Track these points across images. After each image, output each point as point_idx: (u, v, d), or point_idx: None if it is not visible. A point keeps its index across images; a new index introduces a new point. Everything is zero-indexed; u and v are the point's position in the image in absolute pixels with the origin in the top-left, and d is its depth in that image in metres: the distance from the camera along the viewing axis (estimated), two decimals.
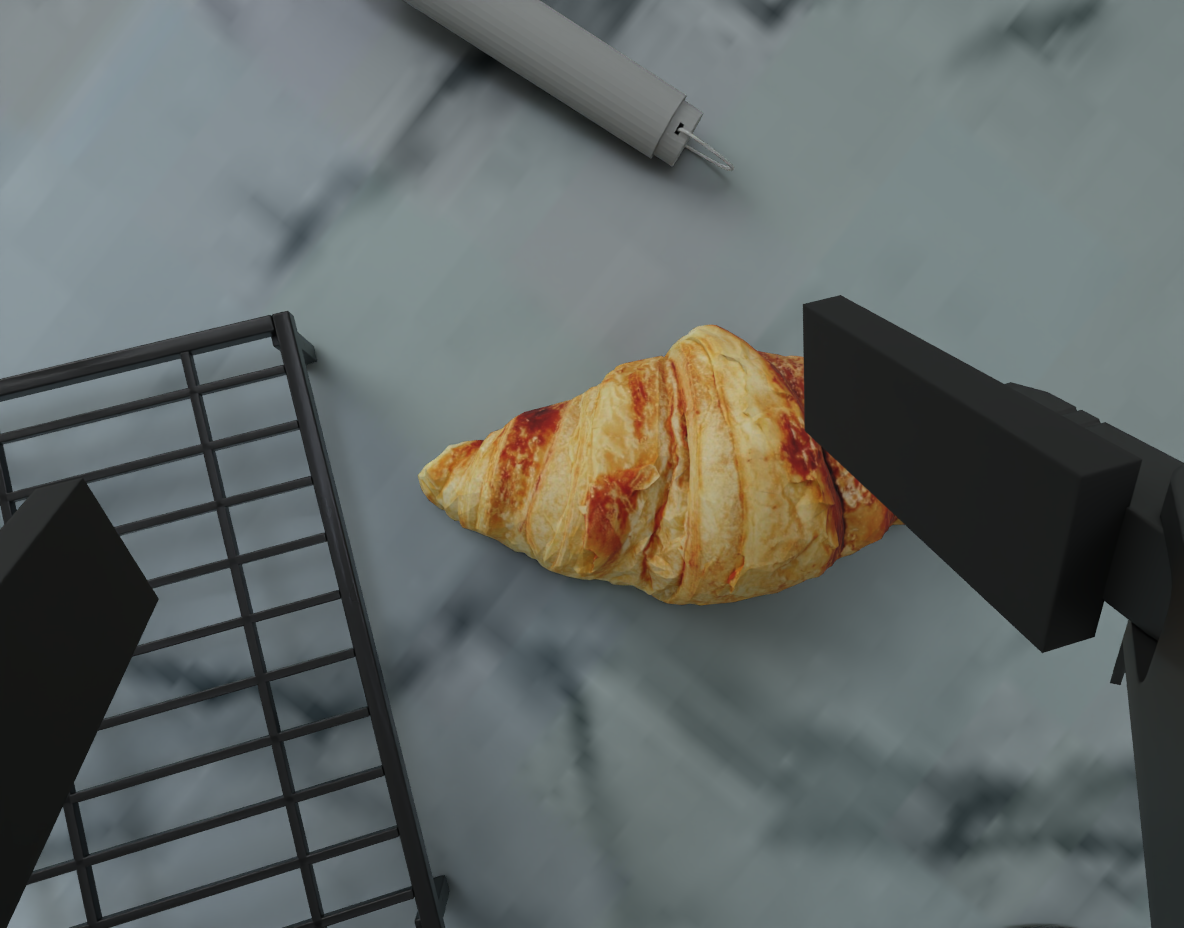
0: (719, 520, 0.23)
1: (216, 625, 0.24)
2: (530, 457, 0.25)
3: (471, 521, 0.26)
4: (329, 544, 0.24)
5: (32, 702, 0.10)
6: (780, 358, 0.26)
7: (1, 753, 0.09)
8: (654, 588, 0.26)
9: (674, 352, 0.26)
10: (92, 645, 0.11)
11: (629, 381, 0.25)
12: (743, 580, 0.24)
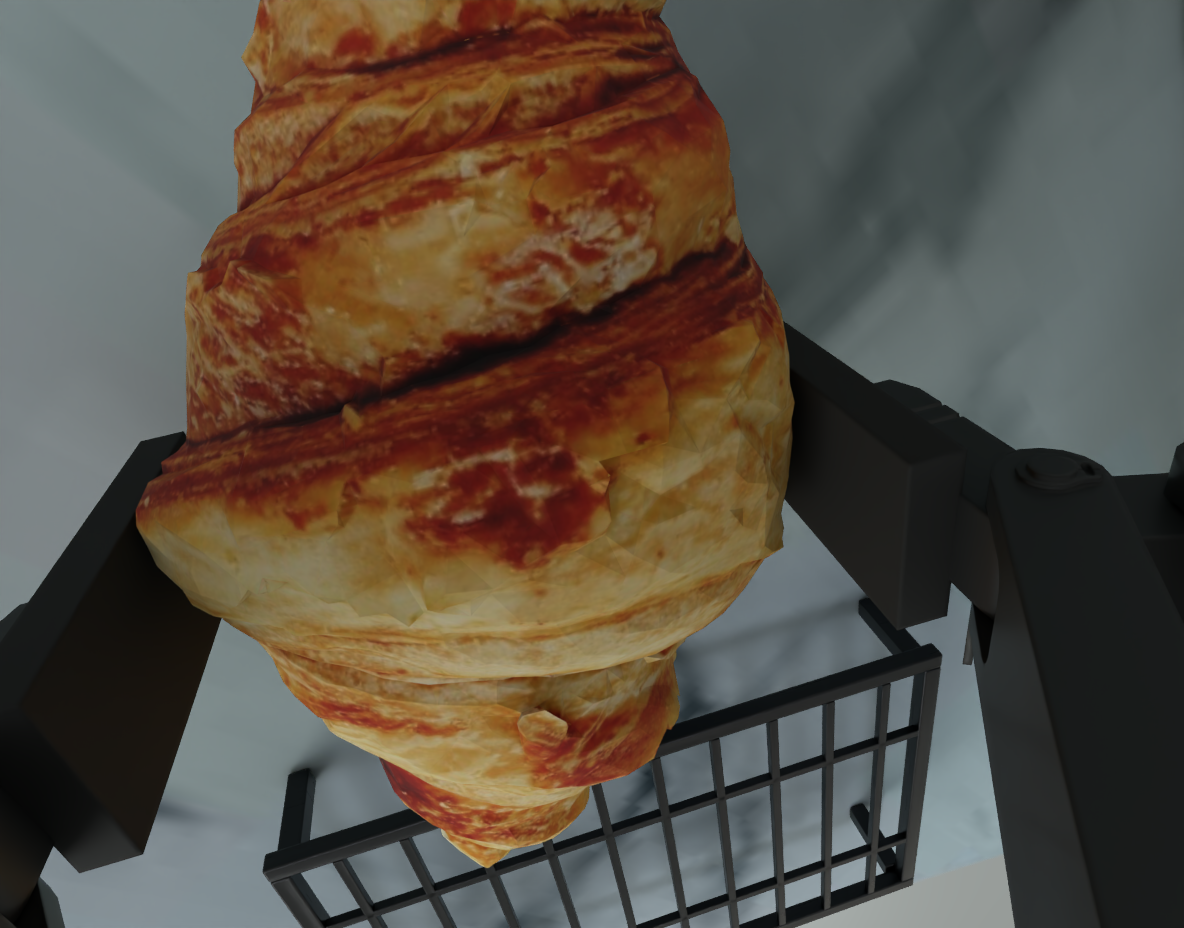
0: (662, 635, 0.10)
1: (611, 854, 0.25)
2: (479, 812, 0.14)
3: None
4: None
5: (160, 623, 0.11)
6: (205, 372, 0.09)
7: (142, 664, 0.10)
8: None
9: None
10: None
11: (320, 712, 0.12)
12: (776, 535, 0.11)
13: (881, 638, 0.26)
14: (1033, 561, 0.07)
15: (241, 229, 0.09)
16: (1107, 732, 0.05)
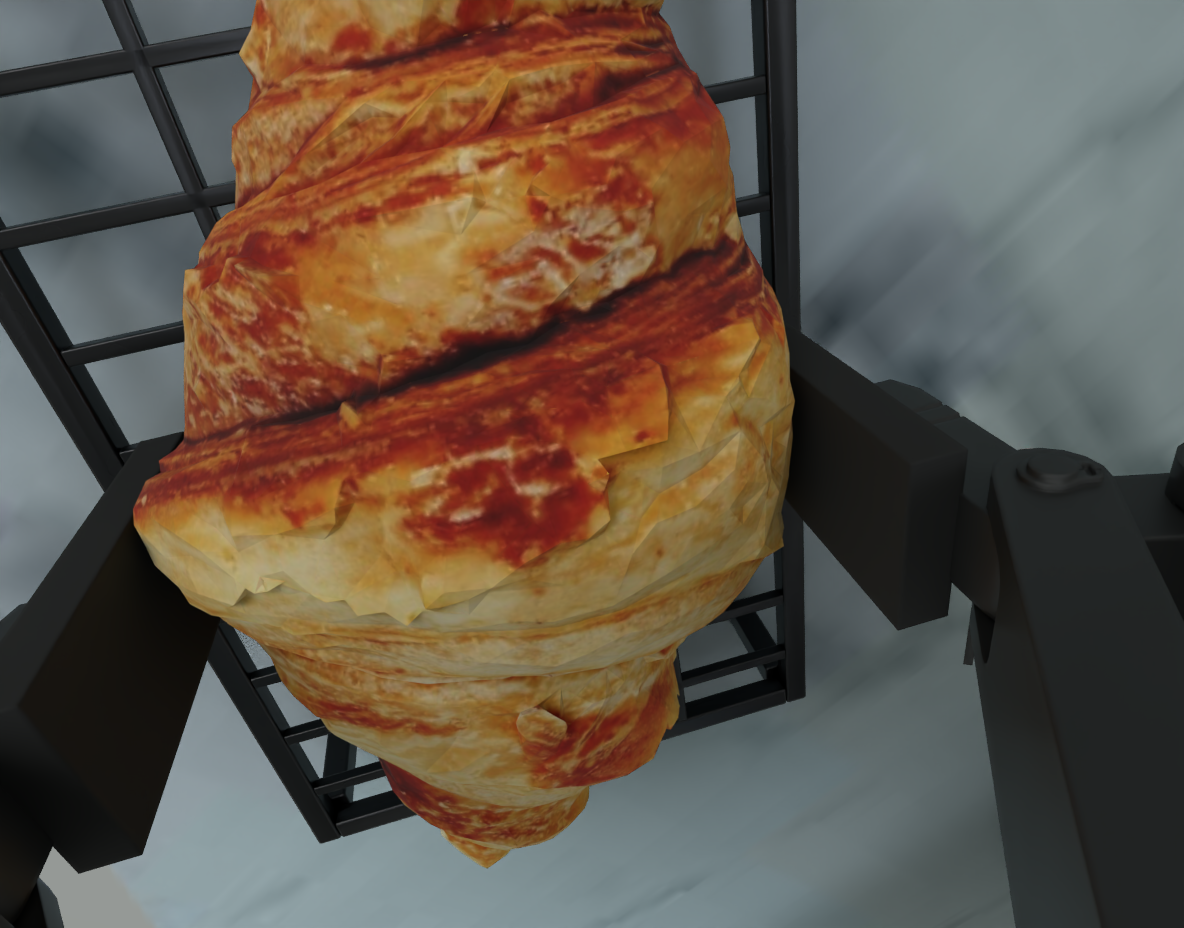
0: (661, 635, 0.10)
1: None
2: (477, 812, 0.14)
3: None
4: (773, 217, 0.14)
5: (160, 624, 0.11)
6: (202, 369, 0.09)
7: (142, 665, 0.10)
8: None
9: None
10: None
11: None
12: (776, 534, 0.11)
13: (752, 635, 0.22)
14: (1034, 561, 0.07)
15: (238, 226, 0.09)
16: (1107, 732, 0.05)
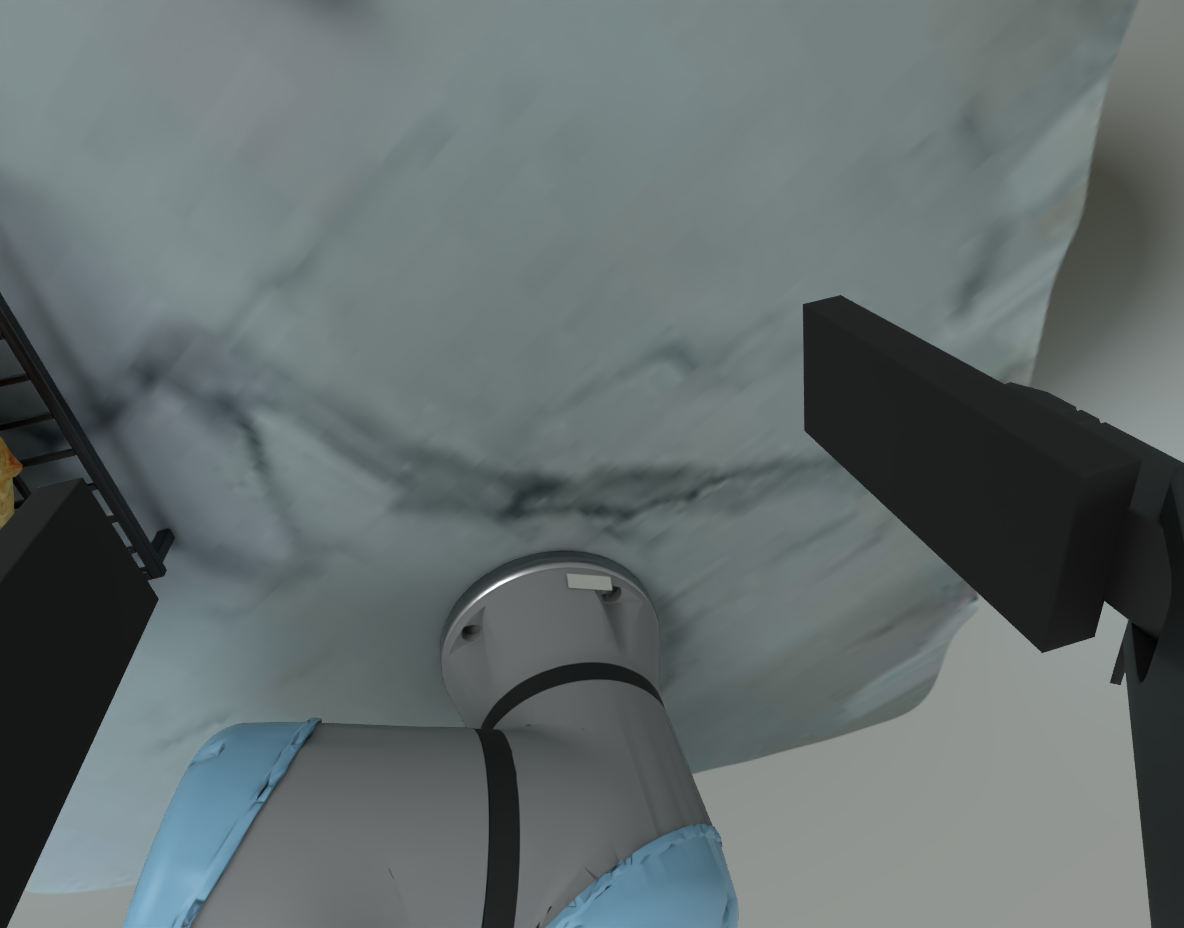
0: None
1: None
2: None
3: None
4: (7, 341, 0.32)
5: (31, 702, 0.10)
6: None
7: (1, 753, 0.09)
8: None
9: None
10: (92, 645, 0.11)
11: None
12: None
13: (152, 545, 0.40)
14: None
15: None
16: None
